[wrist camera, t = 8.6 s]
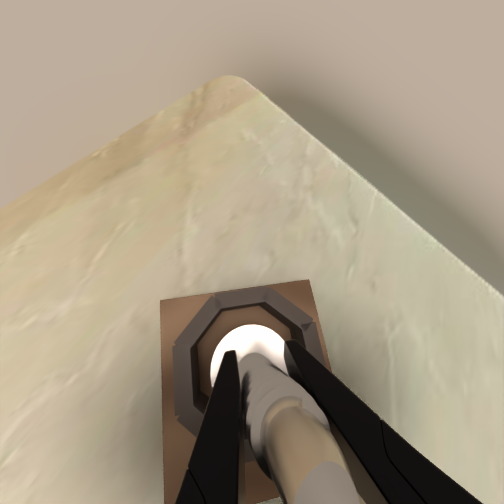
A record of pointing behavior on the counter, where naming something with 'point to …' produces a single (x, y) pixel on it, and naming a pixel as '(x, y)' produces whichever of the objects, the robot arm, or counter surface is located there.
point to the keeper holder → (200, 358)
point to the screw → (285, 423)
